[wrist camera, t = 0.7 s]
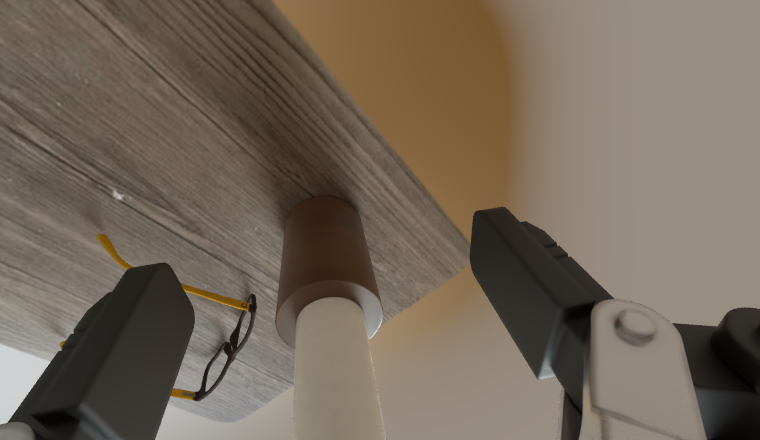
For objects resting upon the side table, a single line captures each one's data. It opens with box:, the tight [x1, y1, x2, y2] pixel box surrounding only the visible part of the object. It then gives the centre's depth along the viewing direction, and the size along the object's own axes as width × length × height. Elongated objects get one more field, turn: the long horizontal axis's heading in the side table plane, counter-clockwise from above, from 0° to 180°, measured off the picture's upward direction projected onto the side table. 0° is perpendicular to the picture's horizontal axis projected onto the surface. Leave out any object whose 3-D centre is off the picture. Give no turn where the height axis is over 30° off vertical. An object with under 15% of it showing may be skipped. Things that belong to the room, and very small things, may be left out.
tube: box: [292, 297, 387, 440], centre depth 18 cm, size 4×4×11 cm
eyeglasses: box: [60, 234, 257, 401], centre depth 32 cm, size 14×14×4 cm
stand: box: [275, 196, 383, 349], centre depth 27 cm, size 7×7×11 cm
